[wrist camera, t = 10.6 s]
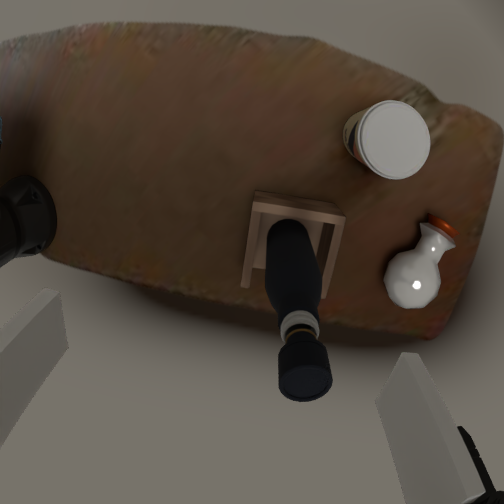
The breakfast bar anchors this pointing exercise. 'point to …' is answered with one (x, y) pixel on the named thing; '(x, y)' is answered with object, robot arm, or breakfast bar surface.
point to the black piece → (297, 311)
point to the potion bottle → (419, 266)
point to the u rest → (307, 213)
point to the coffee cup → (388, 139)
